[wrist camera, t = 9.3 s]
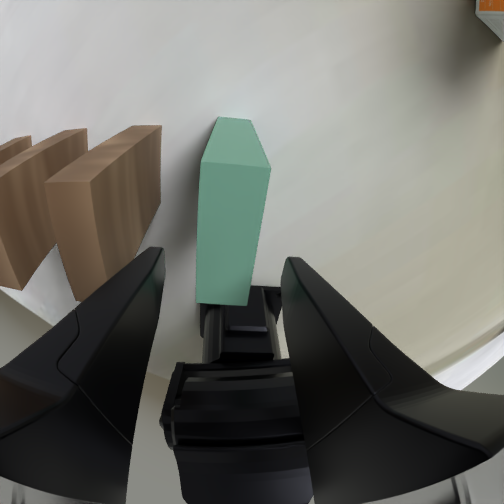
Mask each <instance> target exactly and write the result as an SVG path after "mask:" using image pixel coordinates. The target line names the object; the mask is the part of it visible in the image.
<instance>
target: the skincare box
mask: <svg viewBox="0 0 504 504" xmlns="http://www.w3.org/2000/svg"><path fill="white" fill-rule="evenodd" d="M475 14H476V16H477V17H478V18H479V19H481V20H482V21H483V22H484V23H485V24H486V25H487V26H488V27H489V28H490V29H491V30H492V31H493V32H494V33H495V34H496V35H497V36H498V37H499V38H500V39H501V40H502V41H503V42H504V0H476V10H475Z"/></svg>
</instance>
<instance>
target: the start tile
mask: <svg viewBox="0 0 504 504" xmlns="http://www.w3.org/2000/svg"><path fill="white" fill-rule="evenodd" d="M270 172H271V167H270V164H269V162H268V159H267V157H266V155H265V152H264V150H263V148H262V145H261V143H260V141H259V138H258V136H257V134H256V131H255V129H254V127H253V124H252V122H251V120H247V119H237V118H227V117H218V119H217V122H216V124H215V126H214V129H213V131H212V134H211V136H210V139H209V141H208V144H207V147H206V149H205V152H204V154H203V157H202V160H201V166H200V181H199V198H198V219H197V249H196V303H207V304H222V305H239V306H247V302H248V296H249V291H250V285H251V279H252V274H253V268H254V263H255V257H256V251H257V246H258V240H259V234H260V229H261V223H262V217H263V212H264V206H265V200H266V195H267V189H268V183H269V178H270Z"/></svg>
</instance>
